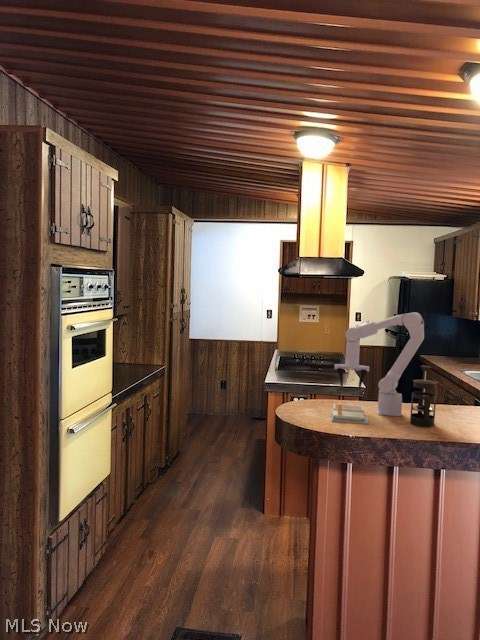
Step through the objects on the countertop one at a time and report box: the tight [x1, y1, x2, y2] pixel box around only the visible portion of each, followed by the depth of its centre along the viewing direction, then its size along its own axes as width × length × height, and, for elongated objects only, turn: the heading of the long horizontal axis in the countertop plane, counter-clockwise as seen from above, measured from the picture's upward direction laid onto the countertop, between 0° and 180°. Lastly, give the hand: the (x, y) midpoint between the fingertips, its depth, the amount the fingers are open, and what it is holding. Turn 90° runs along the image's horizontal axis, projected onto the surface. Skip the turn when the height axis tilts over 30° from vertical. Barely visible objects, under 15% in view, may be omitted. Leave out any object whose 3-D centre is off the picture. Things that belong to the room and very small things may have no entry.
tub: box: [332, 403, 365, 414], centre depth 223 cm, size 12×8×2 cm, turn 81°
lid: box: [332, 401, 365, 421], centre depth 212 cm, size 12×8×6 cm, turn 81°
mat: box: [330, 413, 370, 425], centre depth 213 cm, size 14×10×1 cm
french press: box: [409, 365, 438, 428], centre depth 209 cm, size 12×9×23 cm
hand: (350, 386), depth 231 cm, fingers open, 7 cm apart
